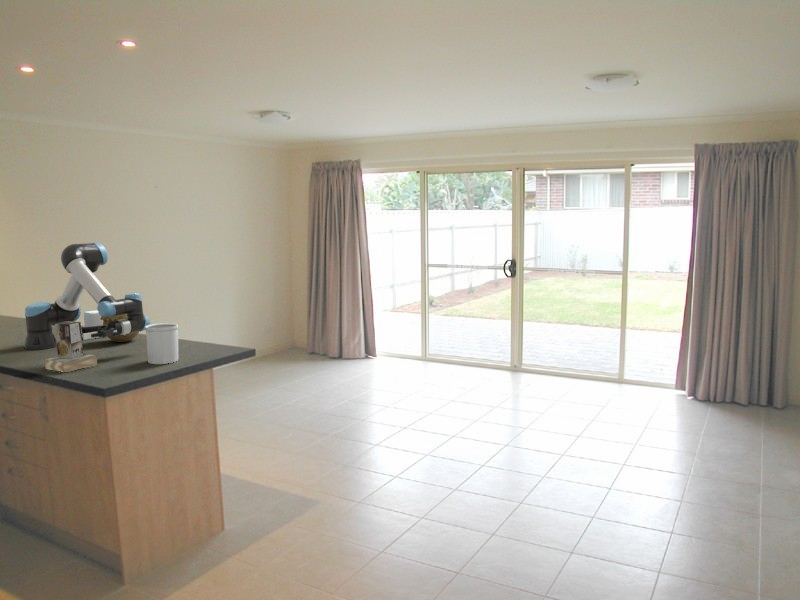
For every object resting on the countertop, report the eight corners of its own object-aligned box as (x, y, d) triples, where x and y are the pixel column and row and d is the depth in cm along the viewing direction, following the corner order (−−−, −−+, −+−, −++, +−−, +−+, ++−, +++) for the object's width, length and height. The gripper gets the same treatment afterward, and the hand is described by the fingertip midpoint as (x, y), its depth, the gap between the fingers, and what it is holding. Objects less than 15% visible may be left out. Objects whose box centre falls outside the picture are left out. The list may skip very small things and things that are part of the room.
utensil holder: (154, 357, 301) (153, 322, 299) (184, 357, 301) (182, 322, 298) (141, 364, 287) (139, 328, 284) (172, 365, 286) (170, 328, 284)
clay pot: (99, 340, 341) (96, 305, 338) (139, 336, 353) (137, 302, 350) (104, 347, 324) (102, 310, 321) (147, 342, 335) (144, 306, 332)
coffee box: (83, 356, 282) (81, 321, 280) (72, 359, 276) (69, 324, 274) (69, 354, 285) (66, 320, 283) (57, 357, 279) (54, 322, 277)
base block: (45, 369, 278) (44, 358, 277) (78, 362, 292) (77, 351, 291) (64, 373, 271) (63, 362, 270) (97, 365, 285) (96, 355, 284)
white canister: (107, 337, 350) (106, 311, 348) (91, 339, 343) (89, 313, 341) (101, 334, 356) (99, 309, 354) (85, 337, 349) (83, 311, 347)
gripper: (134, 338, 292) (91, 346, 275) (104, 332, 306) (62, 340, 289) (133, 322, 291) (89, 330, 274) (103, 317, 305) (60, 324, 288)
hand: (75, 335), depth 281 cm, fingers open, 13 cm apart
